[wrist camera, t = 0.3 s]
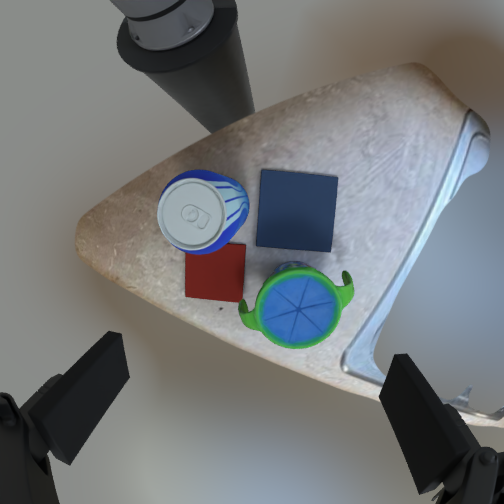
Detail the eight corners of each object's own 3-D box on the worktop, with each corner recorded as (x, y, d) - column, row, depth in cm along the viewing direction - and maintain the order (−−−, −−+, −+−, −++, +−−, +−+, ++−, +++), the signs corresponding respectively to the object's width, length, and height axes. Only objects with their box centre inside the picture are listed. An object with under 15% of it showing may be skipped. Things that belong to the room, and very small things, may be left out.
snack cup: (249, 322, 44) (243, 358, 34) (235, 260, 41) (224, 281, 32) (345, 306, 42) (363, 337, 32) (338, 241, 40) (359, 258, 30)
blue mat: (261, 169, 38) (261, 169, 38) (337, 177, 38) (338, 177, 37) (256, 245, 41) (256, 246, 40) (329, 251, 40) (330, 252, 40)
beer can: (205, 241, 41) (168, 272, 26) (185, 189, 40) (136, 190, 24) (258, 222, 40) (250, 242, 24) (238, 168, 39) (217, 153, 23)
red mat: (186, 240, 41) (185, 240, 41) (246, 244, 41) (245, 245, 40) (186, 295, 43) (185, 296, 43) (242, 301, 43) (241, 303, 42)
